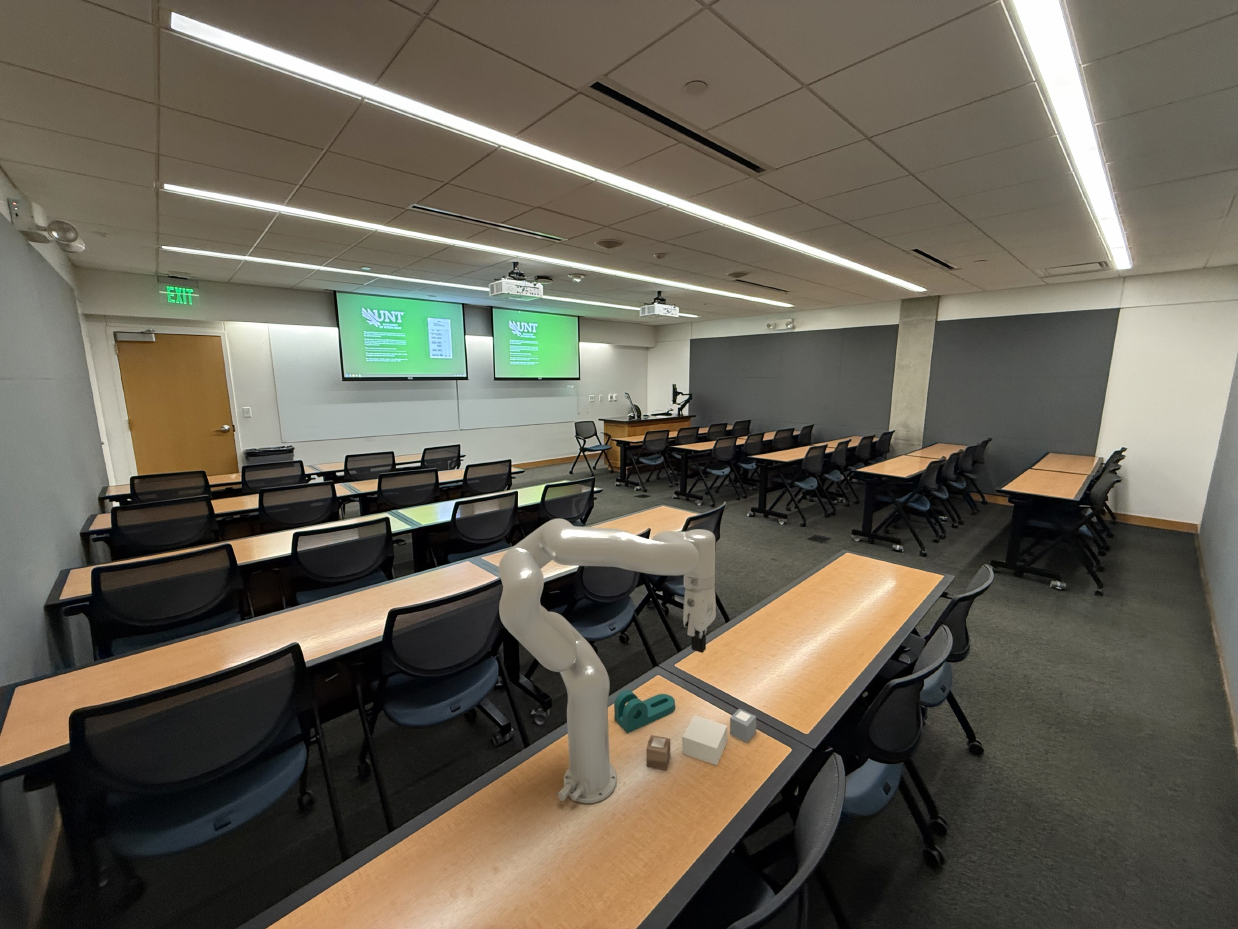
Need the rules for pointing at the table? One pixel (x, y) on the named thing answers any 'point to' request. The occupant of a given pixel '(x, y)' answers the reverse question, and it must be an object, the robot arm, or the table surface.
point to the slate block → (743, 725)
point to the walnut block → (658, 752)
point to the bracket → (641, 710)
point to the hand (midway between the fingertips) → (698, 649)
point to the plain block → (704, 740)
